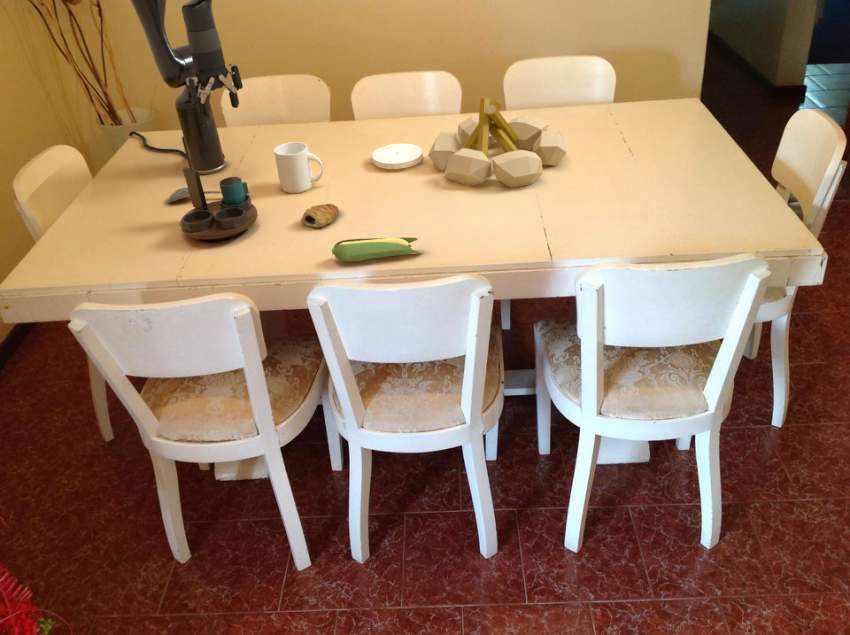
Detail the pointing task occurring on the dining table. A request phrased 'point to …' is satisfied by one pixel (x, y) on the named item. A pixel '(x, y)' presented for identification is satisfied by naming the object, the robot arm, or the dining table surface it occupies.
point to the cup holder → (217, 209)
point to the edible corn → (372, 248)
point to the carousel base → (224, 237)
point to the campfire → (511, 136)
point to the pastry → (320, 215)
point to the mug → (295, 167)
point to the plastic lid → (397, 156)
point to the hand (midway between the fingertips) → (220, 112)
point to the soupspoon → (185, 193)
